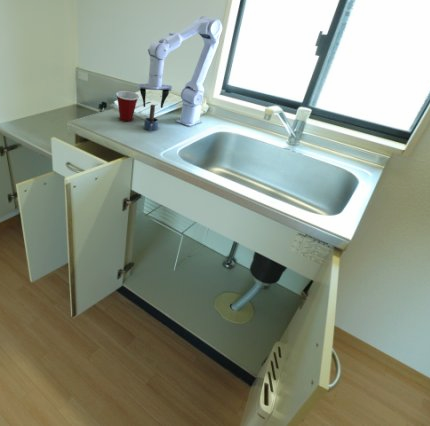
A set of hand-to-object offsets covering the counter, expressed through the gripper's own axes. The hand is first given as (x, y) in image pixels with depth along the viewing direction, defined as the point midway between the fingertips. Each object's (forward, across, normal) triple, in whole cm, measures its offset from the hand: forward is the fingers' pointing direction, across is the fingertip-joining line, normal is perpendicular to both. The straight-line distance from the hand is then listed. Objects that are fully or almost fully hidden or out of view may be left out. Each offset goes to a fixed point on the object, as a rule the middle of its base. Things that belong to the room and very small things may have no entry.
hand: (152, 106), depth 145 cm
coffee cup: (+10, 0, -1) cm, 10 cm away
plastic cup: (+10, -12, +9) cm, 18 cm away
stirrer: (+9, 0, 0) cm, 9 cm away
